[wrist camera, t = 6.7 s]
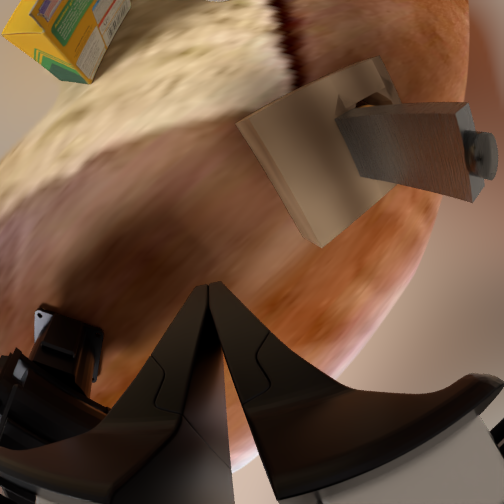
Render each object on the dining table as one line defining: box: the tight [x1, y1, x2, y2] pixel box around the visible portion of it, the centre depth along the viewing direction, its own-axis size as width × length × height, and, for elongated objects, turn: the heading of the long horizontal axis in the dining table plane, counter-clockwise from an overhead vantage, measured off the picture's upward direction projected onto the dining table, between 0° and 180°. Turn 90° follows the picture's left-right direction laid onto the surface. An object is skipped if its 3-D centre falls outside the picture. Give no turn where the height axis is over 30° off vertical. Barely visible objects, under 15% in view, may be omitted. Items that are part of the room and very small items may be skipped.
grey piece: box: [334, 102, 498, 203], centre depth 14 cm, size 2×5×11 cm, turn 33°
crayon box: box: [1, 0, 131, 84], centre depth 7 cm, size 7×3×12 cm, turn 161°
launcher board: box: [235, 56, 402, 248], centre depth 20 cm, size 14×11×3 cm
